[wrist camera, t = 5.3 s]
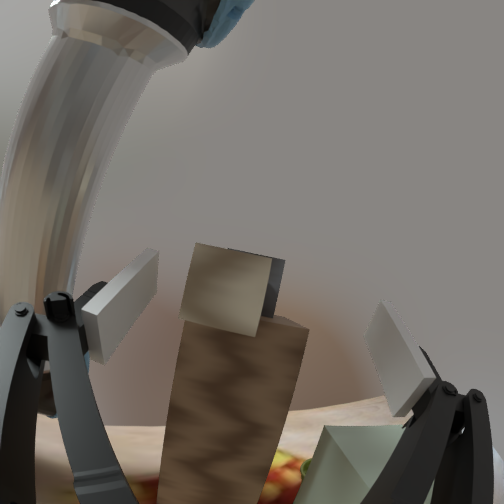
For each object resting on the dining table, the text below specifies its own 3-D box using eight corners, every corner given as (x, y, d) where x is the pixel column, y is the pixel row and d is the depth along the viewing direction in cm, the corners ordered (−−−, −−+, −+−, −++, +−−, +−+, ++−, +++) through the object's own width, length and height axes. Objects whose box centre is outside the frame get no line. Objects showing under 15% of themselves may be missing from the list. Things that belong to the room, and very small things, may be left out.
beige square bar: (153, 311, 12) (184, 187, 13) (223, 304, 34) (234, 256, 35) (283, 343, 12) (309, 210, 12) (271, 315, 33) (281, 267, 34)
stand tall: (154, 532, 17) (188, 303, 22) (173, 480, 30) (206, 300, 35) (237, 549, 17) (309, 329, 22) (236, 493, 30) (284, 316, 35)
